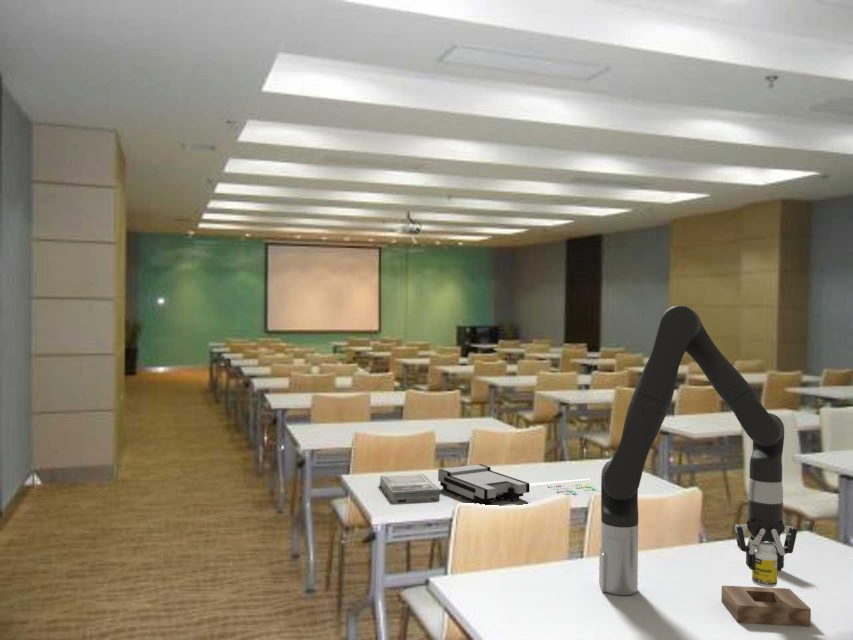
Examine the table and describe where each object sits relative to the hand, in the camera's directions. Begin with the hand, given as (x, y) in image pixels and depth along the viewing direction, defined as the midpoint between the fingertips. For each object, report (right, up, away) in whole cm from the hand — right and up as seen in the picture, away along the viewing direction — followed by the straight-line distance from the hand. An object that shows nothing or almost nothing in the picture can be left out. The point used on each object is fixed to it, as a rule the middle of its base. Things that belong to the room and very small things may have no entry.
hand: (764, 569), depth 169 cm
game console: (-59, -9, +108) cm, 123 cm away
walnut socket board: (0, -11, 0) cm, 11 cm away
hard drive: (-87, -9, +110) cm, 141 cm away
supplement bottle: (0, -4, 0) cm, 4 cm away
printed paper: (-20, -10, +117) cm, 119 cm away
